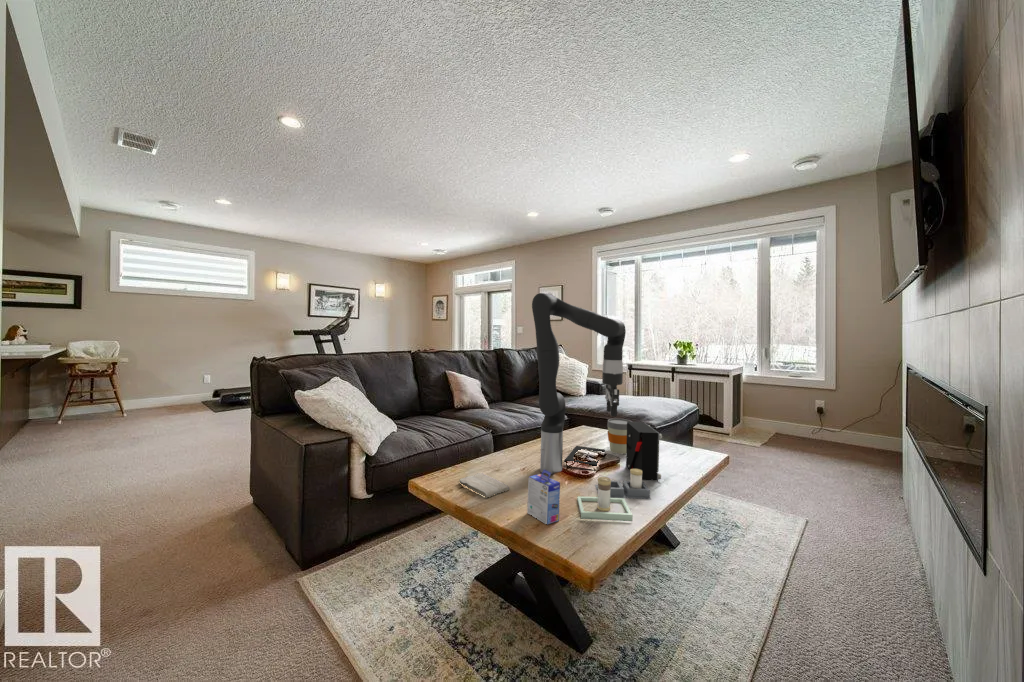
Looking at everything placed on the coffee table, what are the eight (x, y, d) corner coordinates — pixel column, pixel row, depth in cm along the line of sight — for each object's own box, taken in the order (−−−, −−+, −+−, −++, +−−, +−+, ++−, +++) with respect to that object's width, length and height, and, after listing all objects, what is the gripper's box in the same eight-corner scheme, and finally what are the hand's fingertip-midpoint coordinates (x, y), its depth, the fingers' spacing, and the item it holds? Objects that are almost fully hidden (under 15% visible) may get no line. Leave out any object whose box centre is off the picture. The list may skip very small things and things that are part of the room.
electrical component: (662, 483, 152) (663, 433, 151) (636, 482, 152) (637, 432, 151) (647, 467, 169) (648, 422, 169) (624, 466, 169) (625, 421, 169)
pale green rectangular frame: (581, 518, 122) (581, 512, 122) (577, 501, 134) (577, 496, 134) (632, 521, 121) (632, 514, 121) (623, 504, 133) (624, 498, 132)
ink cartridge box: (560, 520, 120) (561, 475, 120) (547, 526, 117) (548, 479, 116) (539, 508, 128) (540, 465, 128) (526, 513, 125) (527, 469, 124)
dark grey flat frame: (563, 466, 169) (564, 459, 169) (575, 451, 191) (576, 445, 191) (596, 471, 164) (596, 464, 164) (604, 455, 185) (605, 449, 185)
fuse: (598, 511, 125) (598, 481, 125) (596, 506, 129) (596, 476, 129) (611, 512, 125) (612, 482, 125) (608, 506, 129) (609, 477, 129)
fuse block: (599, 499, 136) (599, 474, 135) (594, 487, 147) (595, 463, 146) (651, 502, 134) (651, 476, 134) (642, 489, 145) (643, 465, 145)
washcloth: (480, 477, 156) (480, 470, 155) (510, 491, 143) (511, 483, 143) (456, 485, 147) (456, 477, 147) (486, 500, 134) (486, 492, 134)
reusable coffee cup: (602, 451, 191) (602, 421, 190) (613, 445, 200) (613, 417, 200) (626, 456, 183) (626, 425, 182) (636, 450, 192) (637, 421, 192)
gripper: (599, 369, 154) (598, 409, 154) (605, 373, 140) (604, 417, 140) (618, 369, 153) (617, 410, 154) (626, 373, 139) (625, 418, 140)
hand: (611, 413), depth 147 cm, fingers open, 8 cm apart
